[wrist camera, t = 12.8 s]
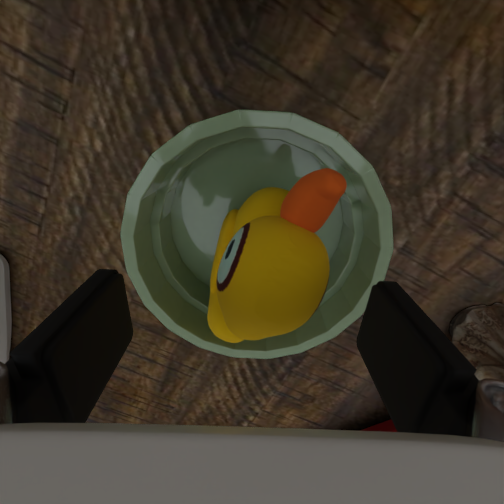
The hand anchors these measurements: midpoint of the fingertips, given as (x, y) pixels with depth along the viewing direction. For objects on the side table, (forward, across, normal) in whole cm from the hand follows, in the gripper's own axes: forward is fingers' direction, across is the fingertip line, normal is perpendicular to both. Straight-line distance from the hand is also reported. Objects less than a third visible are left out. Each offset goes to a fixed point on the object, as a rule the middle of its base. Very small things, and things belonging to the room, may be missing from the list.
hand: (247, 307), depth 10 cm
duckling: (+10, -1, +1) cm, 10 cm away
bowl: (+10, 0, 0) cm, 10 cm away
